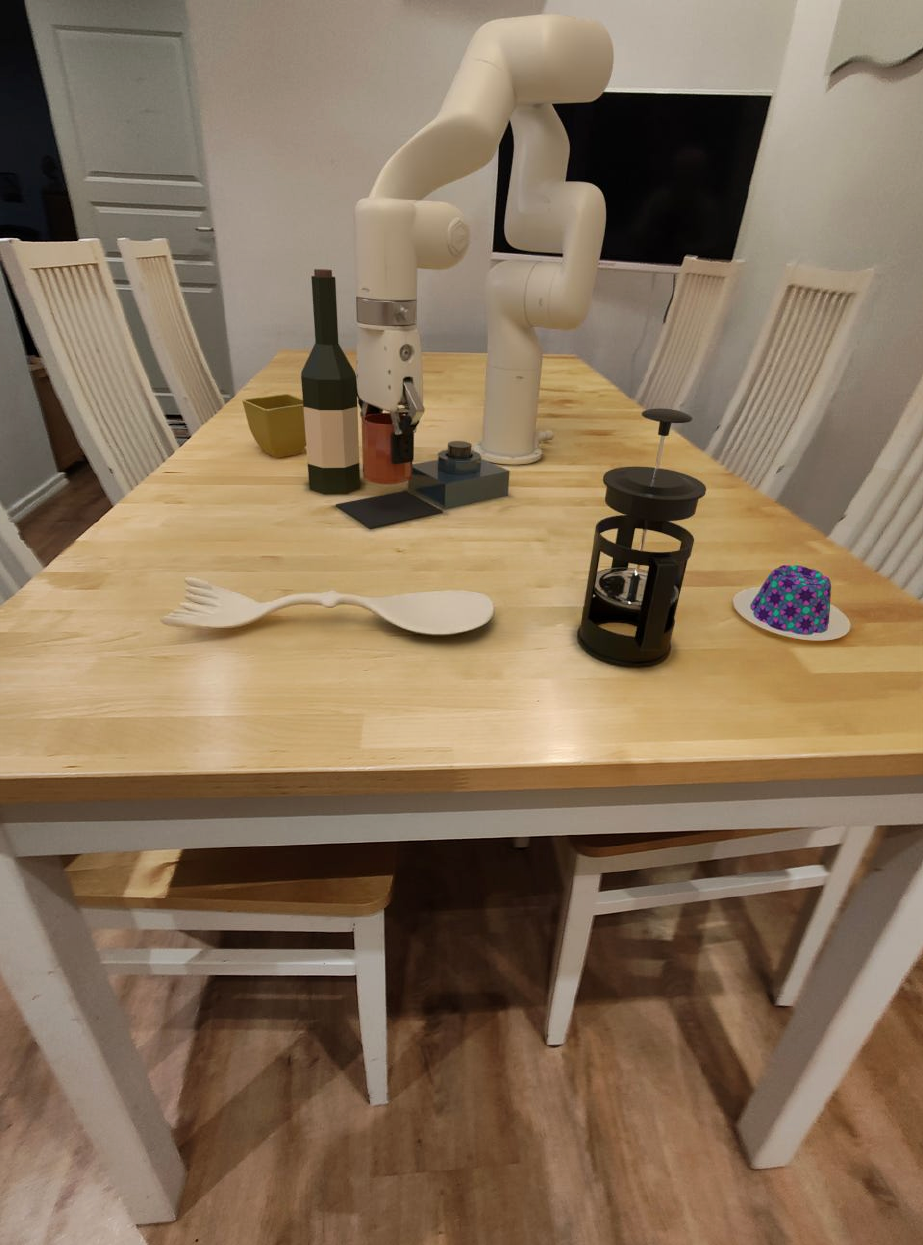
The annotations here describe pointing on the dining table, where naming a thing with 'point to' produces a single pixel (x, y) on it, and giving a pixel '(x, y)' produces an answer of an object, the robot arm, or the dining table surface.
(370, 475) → the cup
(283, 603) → the spoon
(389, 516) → the mat
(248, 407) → the flower pot
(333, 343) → the wine bottle
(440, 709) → the dining table surface
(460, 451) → the dark brown button
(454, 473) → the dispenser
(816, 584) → the purple patterned hat
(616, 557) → the french press
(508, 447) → the robot arm
